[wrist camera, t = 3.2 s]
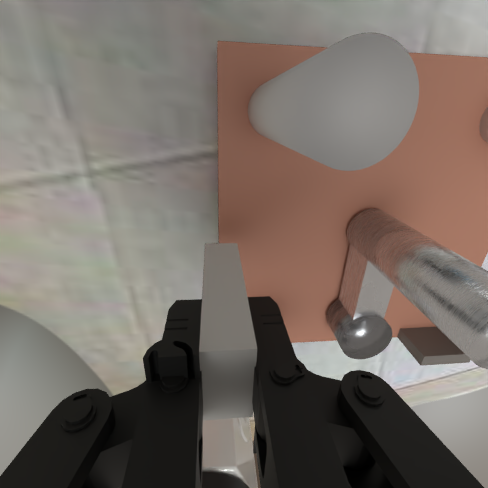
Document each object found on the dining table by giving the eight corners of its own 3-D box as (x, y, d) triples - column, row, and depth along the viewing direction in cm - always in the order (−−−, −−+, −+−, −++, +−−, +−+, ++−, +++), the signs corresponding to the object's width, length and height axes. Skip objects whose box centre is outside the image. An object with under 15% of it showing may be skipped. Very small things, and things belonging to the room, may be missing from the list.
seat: (217, 49, 16) (227, -94, 5) (535, 67, 18) (1042, -2, 7) (219, 329, 24) (224, 505, 13) (434, 318, 26) (591, 464, 15)
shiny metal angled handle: (366, 330, 23) (466, 473, 14) (323, 332, 22) (398, 481, 13) (399, 208, 18) (580, 300, 9) (347, 208, 18) (482, 305, 9)
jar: (254, 394, 28) (280, 570, 17) (179, 419, 29) (158, 606, 18) (221, 331, 24) (228, 508, 13) (135, 361, 25) (74, 556, 14)
